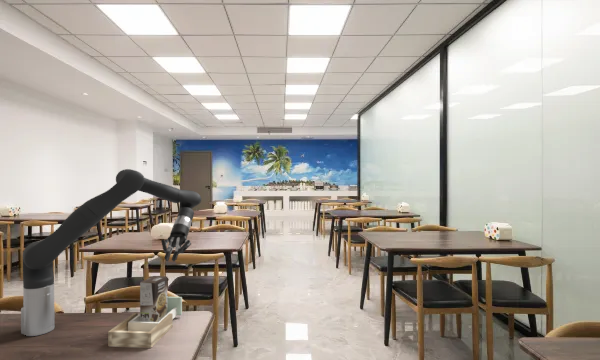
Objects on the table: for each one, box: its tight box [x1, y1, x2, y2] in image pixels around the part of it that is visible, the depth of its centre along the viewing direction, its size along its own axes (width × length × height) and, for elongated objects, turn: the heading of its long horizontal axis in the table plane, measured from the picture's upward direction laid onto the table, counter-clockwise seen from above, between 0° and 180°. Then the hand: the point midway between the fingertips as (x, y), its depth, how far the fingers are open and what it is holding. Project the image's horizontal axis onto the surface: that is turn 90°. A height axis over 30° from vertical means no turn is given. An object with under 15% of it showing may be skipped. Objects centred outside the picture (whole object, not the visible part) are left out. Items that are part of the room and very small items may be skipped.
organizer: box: [107, 312, 174, 349], centre depth 125 cm, size 15×17×5 cm
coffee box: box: [139, 275, 168, 322], centre depth 134 cm, size 9×6×16 cm
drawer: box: [128, 296, 183, 332], centre depth 134 cm, size 15×16×7 cm
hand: (169, 260), depth 148 cm, fingers open, 2 cm apart
